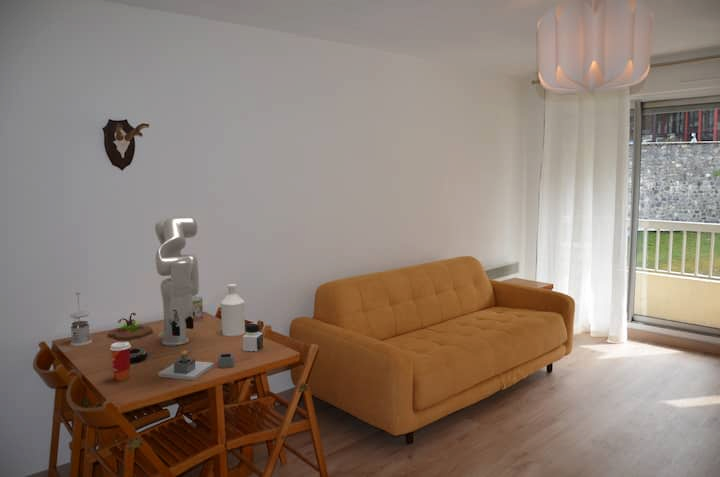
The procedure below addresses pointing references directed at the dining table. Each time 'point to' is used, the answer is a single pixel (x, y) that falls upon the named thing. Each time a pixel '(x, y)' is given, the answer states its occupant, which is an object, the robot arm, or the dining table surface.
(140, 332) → the plant
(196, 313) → the canned food
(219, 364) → the link
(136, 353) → the black ashtray
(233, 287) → the bottle
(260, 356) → the dining table surface
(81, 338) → the french press
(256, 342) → the medicine bottle
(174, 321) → the robot arm
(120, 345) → the paper cup
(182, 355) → the keeper
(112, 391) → the dining table surface
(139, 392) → the dining table surface
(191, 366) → the link
